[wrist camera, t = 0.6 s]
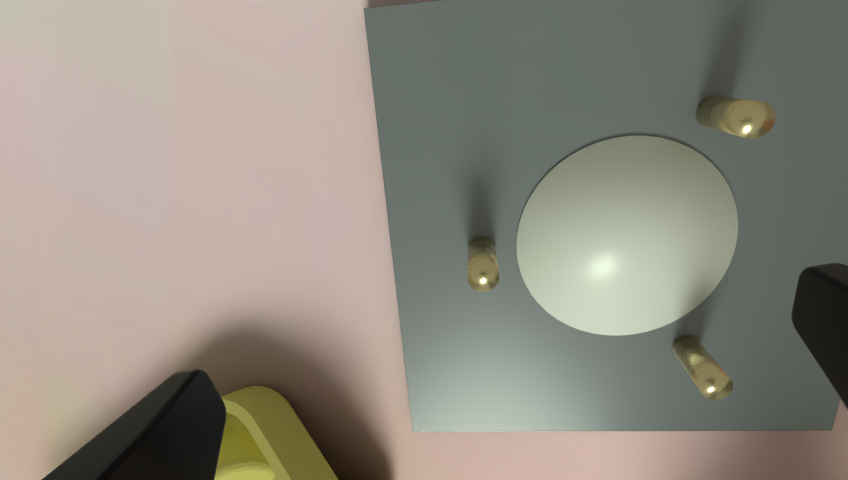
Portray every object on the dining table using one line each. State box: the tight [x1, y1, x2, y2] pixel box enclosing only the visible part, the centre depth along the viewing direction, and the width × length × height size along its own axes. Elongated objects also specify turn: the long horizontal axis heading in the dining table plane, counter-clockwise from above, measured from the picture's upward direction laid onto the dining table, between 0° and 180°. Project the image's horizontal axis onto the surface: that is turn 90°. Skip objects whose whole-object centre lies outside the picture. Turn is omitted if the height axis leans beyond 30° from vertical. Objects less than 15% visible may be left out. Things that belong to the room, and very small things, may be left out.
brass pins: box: [468, 95, 776, 400], centre depth 19 cm, size 12×10×3 cm
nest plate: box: [364, 0, 848, 432], centre depth 21 cm, size 20×20×1 cm
